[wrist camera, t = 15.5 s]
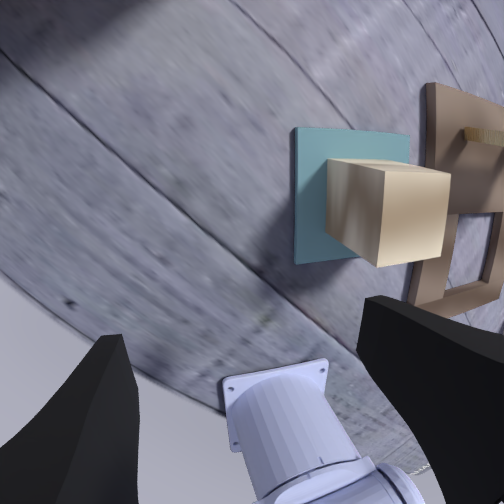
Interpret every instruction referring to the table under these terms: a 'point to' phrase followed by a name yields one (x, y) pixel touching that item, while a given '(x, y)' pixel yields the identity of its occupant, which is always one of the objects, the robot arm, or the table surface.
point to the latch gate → (484, 136)
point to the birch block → (387, 209)
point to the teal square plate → (315, 182)
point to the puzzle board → (462, 197)
